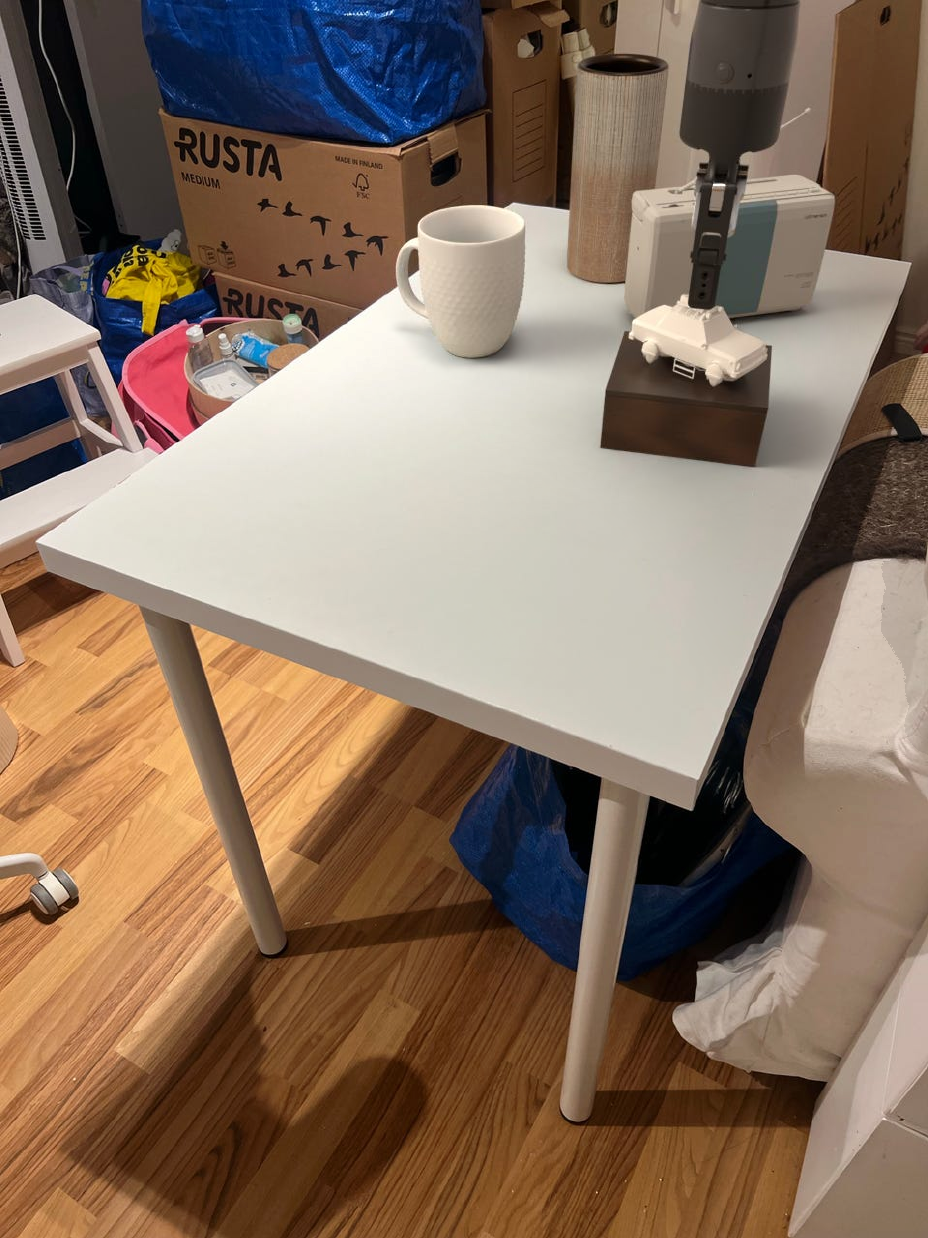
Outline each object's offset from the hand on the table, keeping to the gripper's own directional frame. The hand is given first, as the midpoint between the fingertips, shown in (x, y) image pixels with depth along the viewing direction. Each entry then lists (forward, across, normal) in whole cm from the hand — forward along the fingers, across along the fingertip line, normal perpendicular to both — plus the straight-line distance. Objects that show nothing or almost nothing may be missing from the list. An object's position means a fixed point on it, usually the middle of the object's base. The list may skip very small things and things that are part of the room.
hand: (704, 286), depth 79 cm
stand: (+13, 0, 0) cm, 13 cm away
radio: (+14, +26, -1) cm, 29 cm away
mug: (+14, +12, +25) cm, 31 cm away
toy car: (+8, 0, 0) cm, 8 cm away
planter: (+13, +36, +13) cm, 41 cm away
